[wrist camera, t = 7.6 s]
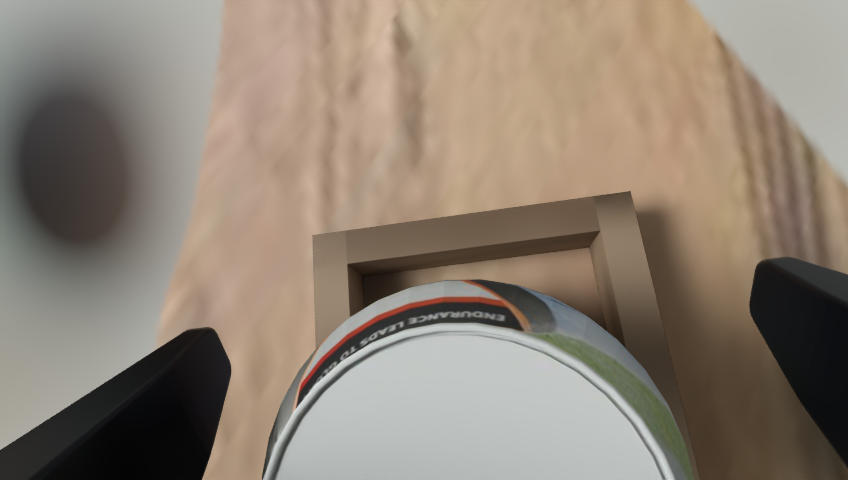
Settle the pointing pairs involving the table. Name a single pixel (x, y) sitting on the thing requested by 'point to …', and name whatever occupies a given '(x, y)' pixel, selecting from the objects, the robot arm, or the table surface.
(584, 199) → the walnut collar
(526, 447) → the beverage can
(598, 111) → the table surface
